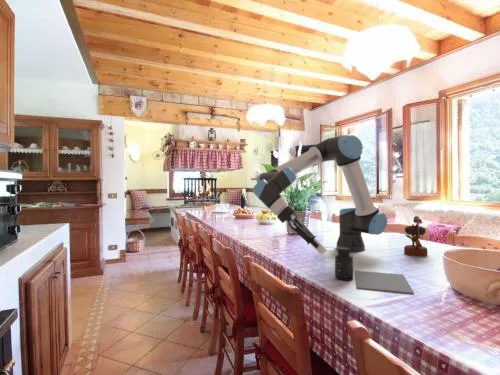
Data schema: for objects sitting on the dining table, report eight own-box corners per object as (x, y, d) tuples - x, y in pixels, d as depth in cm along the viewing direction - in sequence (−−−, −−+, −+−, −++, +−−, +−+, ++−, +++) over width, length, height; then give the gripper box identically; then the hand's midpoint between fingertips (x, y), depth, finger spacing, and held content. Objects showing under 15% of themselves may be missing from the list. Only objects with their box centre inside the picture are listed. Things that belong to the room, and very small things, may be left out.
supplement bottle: (331, 277, 115) (331, 247, 115) (343, 274, 118) (343, 245, 118) (344, 282, 109) (344, 251, 109) (357, 279, 112) (356, 248, 112)
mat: (357, 288, 103) (357, 287, 103) (355, 271, 122) (355, 270, 122) (414, 294, 97) (414, 292, 97) (402, 275, 116) (402, 274, 116)
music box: (435, 257, 143) (431, 217, 142) (412, 259, 143) (409, 219, 143) (418, 249, 158) (414, 213, 157) (397, 251, 158) (394, 215, 158)
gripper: (279, 214, 128) (318, 254, 123) (272, 218, 115) (315, 263, 110) (291, 202, 126) (331, 243, 121) (285, 205, 114) (330, 250, 109)
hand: (324, 252), depth 116 cm, fingers closed
